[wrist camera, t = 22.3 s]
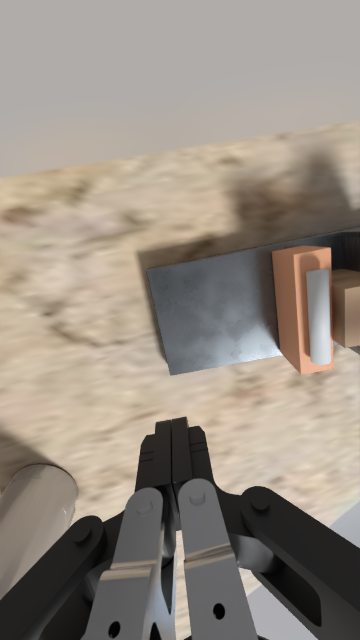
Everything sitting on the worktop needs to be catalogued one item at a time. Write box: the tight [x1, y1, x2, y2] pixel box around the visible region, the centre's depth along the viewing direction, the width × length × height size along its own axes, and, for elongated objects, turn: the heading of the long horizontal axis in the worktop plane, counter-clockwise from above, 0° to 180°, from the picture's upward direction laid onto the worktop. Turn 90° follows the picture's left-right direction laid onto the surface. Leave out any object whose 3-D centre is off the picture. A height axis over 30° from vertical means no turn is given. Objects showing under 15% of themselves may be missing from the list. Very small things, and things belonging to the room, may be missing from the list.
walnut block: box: [331, 269, 360, 348], centre depth 25 cm, size 5×4×7 cm
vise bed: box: [147, 227, 360, 376], centre depth 26 cm, size 12×24×8 cm, turn 101°
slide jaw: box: [272, 245, 333, 374], centre depth 25 cm, size 11×3×6 cm, turn 11°
